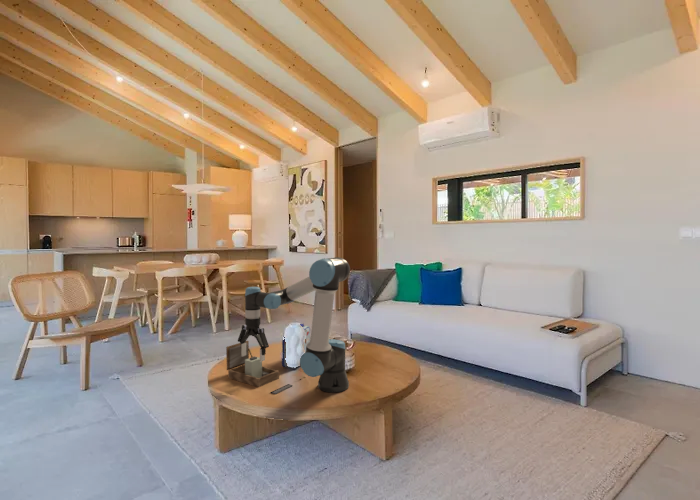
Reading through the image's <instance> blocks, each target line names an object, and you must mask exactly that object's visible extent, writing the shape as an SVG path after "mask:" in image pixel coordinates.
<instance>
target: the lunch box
mask: <svg viewBox="0 0 700 500" xmlns="http://www.w3.org/2000/svg"><path fill="white" fill-rule="evenodd" d="M299 324H300V325H301V326H302V327H303V329H304V332H305V335H306V339H305V342H304V350H305V353H306V345H307V343H308V342H310V338H311V328H310V326H309V325H305V324H304V323H299ZM283 337H284V335H283V336H282V338H283ZM284 338H285V337H284ZM281 345H282V346H281V347H282V349H281V350H282V351H281V352H282V353H281V366H282V367H283V368H288V366H287V363H286V360H285V358H286V342H285V339H284V340H283V339H282V341H281ZM288 369H289V368H288Z"/></svg>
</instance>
